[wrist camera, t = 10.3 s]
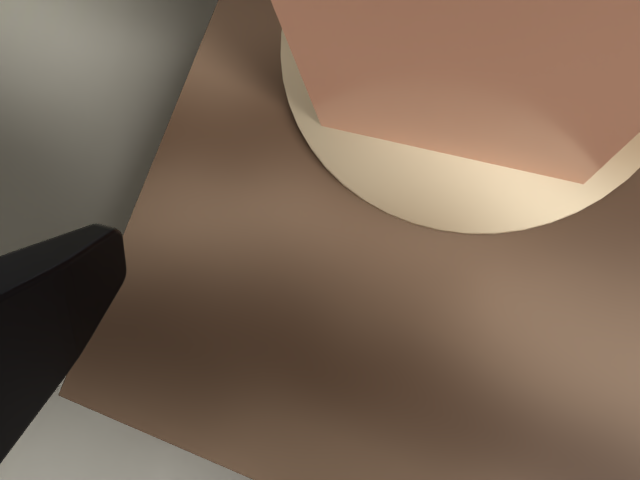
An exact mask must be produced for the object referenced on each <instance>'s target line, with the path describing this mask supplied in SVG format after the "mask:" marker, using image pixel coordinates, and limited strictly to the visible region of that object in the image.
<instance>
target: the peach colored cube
mask: <svg viewBox="0 0 640 480" xmlns="http://www.w3.org/2000/svg"><path fill="white" fill-rule="evenodd" d="M271 2H272V5H273V7H274V10H275V12H276V15H277V17H278V20H279V22H280V25H281V27H282V30H283V32H284V35H285V37H286V40H287V42H288V45H289V47H290V50H291V52H292V55H293V57H294V59H295V62H296V64H297V67H298V69H299V72H300V74H301V77H302V79H303V82H304V84H305V87H306V89H307V92H308V94H309V97H310V99H311V102H312V104H313V107H314V109H315V112H316V114H317V117H318V119H319V122H320V124H321V126H324V127H328V128H333V129H337V130H342V131H346V132H351V133H355V134H360V135H364V136H369V137H373V138H378V139H382V140H387V141H391V142H396V143H400V144H405V145H409V146H414V147H418V148H423V149H427V150H431V151H436V152H440V153H445V154H449V155H454V156H458V157H463V158H467V159H472V160H476V161H481V162H485V163H490V164H494V165H499V166H503V167H508V168H512V169H517V170H521V171H526V172H530V173H535V174H539V175H544V176H548V177H553V178H557V179H562V180H566V181H571V182H575V183H580V184H584V183H585V182H587V181H588V180H589V179H590V178H591V177H592V176H593V175H594V174H595V173H596V172H597V171H598V170H599V169H601V168H602V167H603V166H604V165H605V164H606V163H607V162H608V161H609V160H610V159H611V158H612V157H613V156H615V155H616V154H617V153H618V152H619V151H620V150H621V149H622V148H623V147H624V146H625V145H626V144H627V143H629V142H630V141H631V140H632V139H633V138H634V137H635V136H636V135H637V134H638V133H639V132H640V0H271Z"/></svg>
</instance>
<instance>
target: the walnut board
mask: <svg viewBox="0 0 640 480" xmlns="http://www.w3.org/2000/svg"><path fill="white" fill-rule="evenodd" d="M123 242H124V251H125V259H126V267H127V271H126V277H125V280H124V282H123V284H122V286H121V288H120V290H119V291H118V293H117V295H116V296H115V298H114V300H113V301H112V303H111V305H110V307H109V308H108V310H107V312H106V313H105V315H104V317H103V318H102V320H101V322H100V324H99V325H98V327H97V329H96V330H95V332H94V334H93V335H92V337H91V339H90V341H89V342H88V344H87V346H86V347H85V349H84V350H83V352H82V354H81V355H80V357H79V358H78V360H77V361H76V362H75V364H74V365H73V367H72V368H71V369H70V371H69V372H68V374H67V375H66V378H65V380H64V383H63V385H62V388H61V390H60V392H59V396H61V397H64V398H66V399H68V400H70V401H73V402H75V403H77V404H80V405H82V406H84V407H87V408H89V409H91V410H94V411H96V412H98V413H101V414H103V415H105V416H107V417H110V418H112V419H114V420H117V421H119V422H121V423H124V424H126V425H128V426H131V427H133V428H135V429H138V430H140V431H142V432H144V433H147V434H149V435H151V436H154V437H156V438H158V439H161V440H163V441H165V442H168V443H170V444H172V445H175V446H177V447H179V448H182V449H184V450H186V451H188V452H191V453H193V454H195V455H198V456H200V457H202V458H205V459H207V460H209V461H212V462H214V463H216V464H219V465H221V466H223V467H225V468H228V469H230V470H232V471H235V472H237V473H239V474H242V475H244V476H246V477H249V478H251V479H253V480H640V132H639V133H638V134H637V135H636V136H635V137H634V138H633V139H632V140H631V141H630V142H629V143H627V144H626V145H625V146H624V147H623V148H622V149H621V150H620V151H619V152H618V153H617V154H616V155H615V156H613V157H612V158H611V159H610V160H609V161H608V162H607V163H606V164H605V165H604V166H603V167H602V168H601V169H599V170H598V171H597V172H596V173H595V174H594V175H593V176H592V177H591V178H590V179H589V180H588V181H587V182H585V183H584V184H580V183H575V182H571V181H566V180H562V179H557V178H553V177H548V176H544V175H539V174H535V173H530V172H526V171H521V170H517V169H512V168H508V167H503V166H499V165H494V164H490V163H485V162H481V161H476V160H472V159H467V158H463V157H458V156H454V155H449V154H445V153H440V152H436V151H431V150H427V149H423V148H418V147H414V146H409V145H405V144H400V143H396V142H391V141H387V140H382V139H378V138H373V137H369V136H364V135H360V134H355V133H351V132H346V131H342V130H337V129H333V128H328V127H324V126H321V124H320V122H319V119H318V117H317V114H316V112H315V109H314V107H313V104H312V102H311V99H310V97H309V94H308V92H307V89H306V87H305V84H304V82H303V79H302V77H301V74H300V72H299V69H298V67H297V64H296V62H295V59H294V57H293V55H292V52H291V50H290V47H289V45H288V42H287V40H286V37H285V35H284V32H283V30H282V27H281V25H280V22H279V20H278V17H277V15H276V12H275V10H274V7H273V5H272V2H271V0H218V2H217V5H216V7H215V10H214V12H213V14H212V17H211V19H210V22H209V24H208V27H207V29H206V32H205V34H204V37H203V39H202V42H201V44H200V47H199V49H198V52H197V54H196V56H195V59H194V61H193V64H192V66H191V69H190V71H189V74H188V76H187V79H186V81H185V84H184V86H183V89H182V91H181V94H180V96H179V98H178V101H177V103H176V106H175V108H174V111H173V113H172V116H171V118H170V121H169V123H168V126H167V128H166V131H165V133H164V136H163V138H162V140H161V143H160V145H159V148H158V150H157V153H156V155H155V158H154V160H153V163H152V165H151V168H150V170H149V173H148V175H147V178H146V180H145V182H144V185H143V187H142V190H141V192H140V195H139V197H138V200H137V202H136V205H135V207H134V210H133V212H132V215H131V217H130V220H129V222H128V224H127V227H126V229H125V232H124V234H123Z"/></svg>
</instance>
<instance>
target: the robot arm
mask: <svg viewBox="0 0 640 480" xmlns="http://www.w3.org/2000/svg"><path fill="white" fill-rule="evenodd" d="M126 271H127V267H126V259H125V251H124V242H123V236H122V234H121V232H120V231H119V230H118V229H116V228H112V227H109V226H105V225H102V224H92V225H89V226H86V227H83V228H80V229H78V230H75V231H72V232H69V233H66V234H63V235H60V236H57V237H54V238H52V239H49V240H46V241H43V242H40V243H37V244H34V245H31V246H28V247H25V248H23V249H20V250H17V251H14V252H11V253H8V254H5V255H2V256H0V463H1V462H2V461H3V459H4V458H5V457H6V455H7V454H8V453H9V451H10V450H11V449H12V447H13V446H14V445H15V443H16V442H17V441H18V439H19V438H20V437H21V435H22V434H23V433H24V431H25V430H26V429H27V427H28V426H29V425H30V423H31V422H32V420H33V419H34V418H35V416H36V415H37V414H38V412H39V411H40V410H41V408H42V407H43V406H44V404H45V403H46V402H47V400H48V399H49V398H50V396H51V395H52V394H53V392H54V391H55V390H56V388H57V387H58V386H59V384H60V383H61V382H62V380H63V379H64V378H65V376H66V375H67V374H68V372H69V371H70V369H71V368H72V367H73V365H74V364H75V362H76V361H77V360H78V358H79V357H80V355H81V354H82V352H83V350H84V349H85V347H86V346H87V344H88V342H89V341H90V339H91V337H92V335H93V334H94V332H95V330H96V329H97V327H98V325H99V324H100V322H101V320H102V318H103V317H104V315H105V313H106V312H107V310H108V308H109V307H110V305H111V303H112V301H113V300H114V298H115V296H116V295H117V293H118V291H119V290H120V288H121V286H122V284H123V282H124V280H125V277H126Z"/></svg>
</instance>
